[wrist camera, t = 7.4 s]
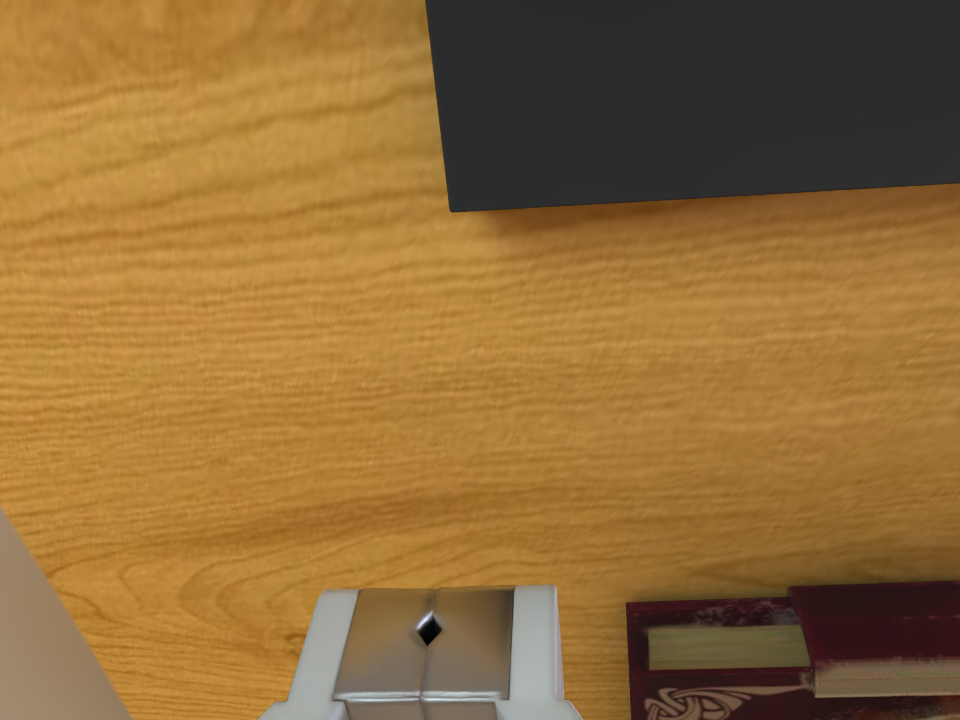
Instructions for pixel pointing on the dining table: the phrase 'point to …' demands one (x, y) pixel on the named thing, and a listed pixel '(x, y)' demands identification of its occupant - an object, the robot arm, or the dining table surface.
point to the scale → (692, 98)
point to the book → (800, 655)
